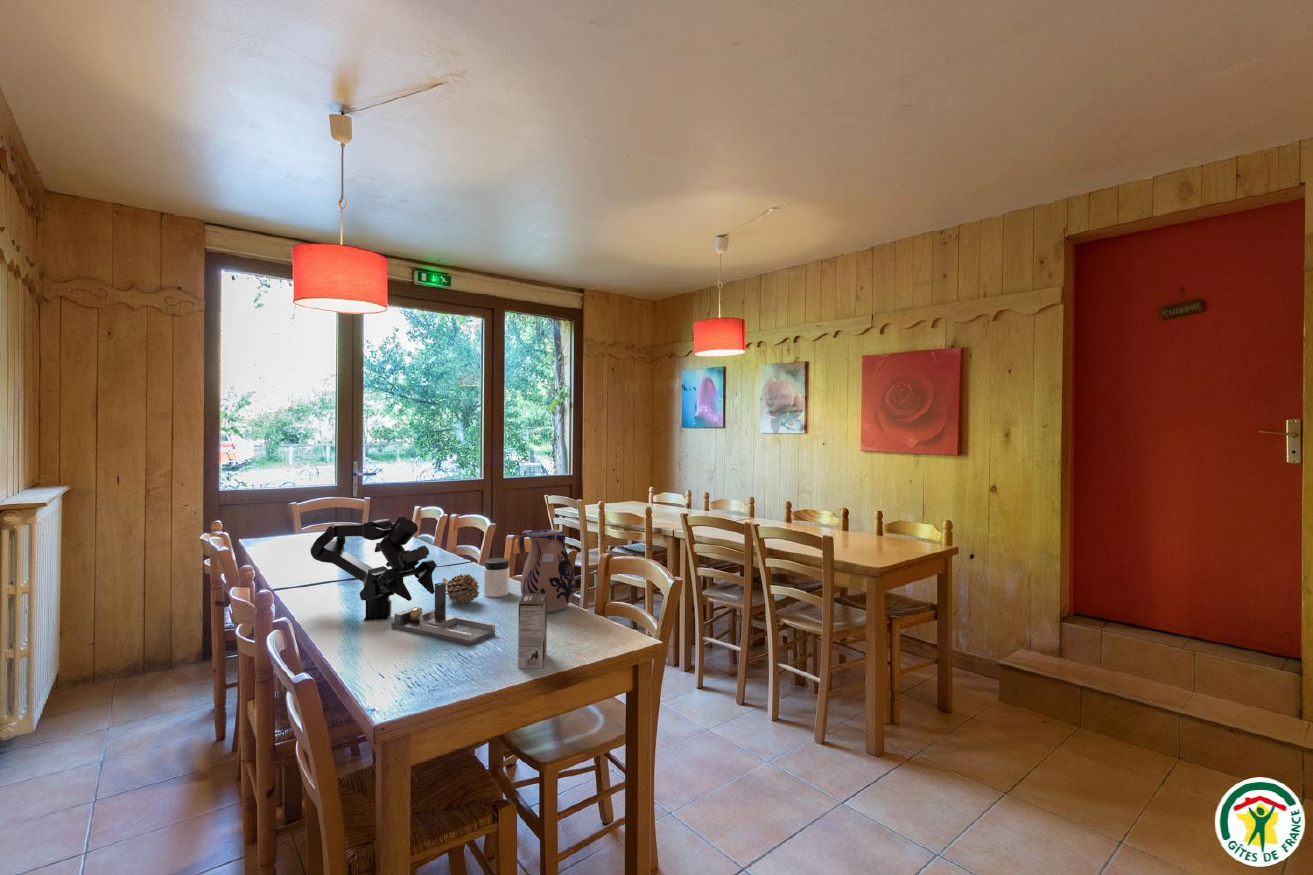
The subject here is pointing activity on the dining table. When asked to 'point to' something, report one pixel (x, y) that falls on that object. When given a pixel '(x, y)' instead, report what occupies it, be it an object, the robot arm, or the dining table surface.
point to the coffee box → (532, 630)
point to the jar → (496, 577)
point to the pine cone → (462, 588)
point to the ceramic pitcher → (547, 568)
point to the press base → (459, 633)
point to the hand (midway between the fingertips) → (422, 596)
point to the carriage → (438, 610)
